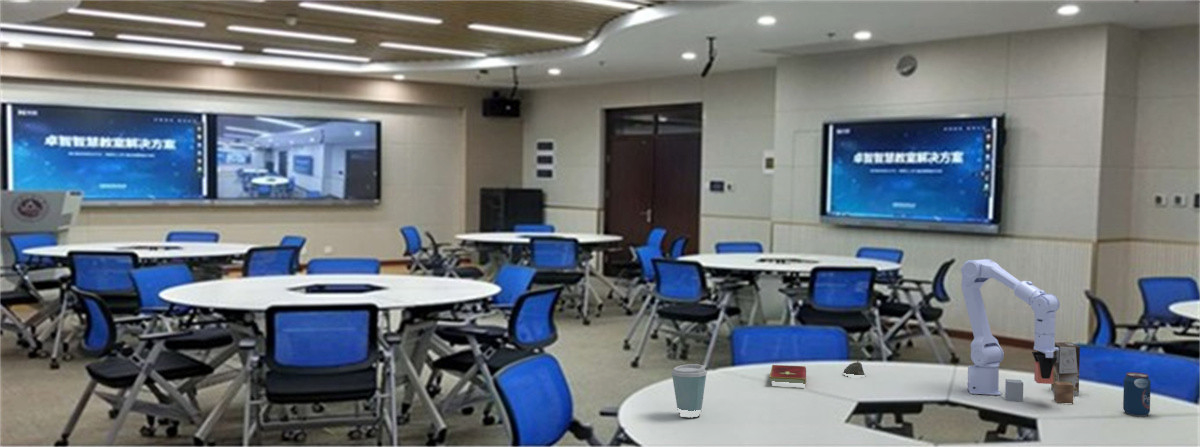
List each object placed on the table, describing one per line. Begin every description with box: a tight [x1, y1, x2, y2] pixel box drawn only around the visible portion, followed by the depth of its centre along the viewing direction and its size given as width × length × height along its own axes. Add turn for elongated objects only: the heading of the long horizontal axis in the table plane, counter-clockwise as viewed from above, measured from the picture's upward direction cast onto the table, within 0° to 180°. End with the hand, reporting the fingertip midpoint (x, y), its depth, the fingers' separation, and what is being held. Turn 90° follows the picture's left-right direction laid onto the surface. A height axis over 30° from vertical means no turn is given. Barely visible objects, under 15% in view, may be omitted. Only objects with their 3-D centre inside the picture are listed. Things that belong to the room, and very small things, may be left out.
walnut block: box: [1053, 381, 1074, 405], centre depth 288 cm, size 4×4×6 cm
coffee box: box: [1050, 341, 1081, 397], centre depth 301 cm, size 9×6×16 cm
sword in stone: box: [843, 345, 866, 376], centre depth 328 cm, size 10×8×12 cm
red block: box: [1033, 361, 1054, 385], centre depth 284 cm, size 4×4×6 cm
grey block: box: [1004, 378, 1024, 402], centre depth 292 cm, size 4×4×6 cm
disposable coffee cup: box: [671, 363, 708, 411], centre depth 273 cm, size 11×11×15 cm
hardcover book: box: [769, 364, 807, 385], centre depth 319 cm, size 12×21×4 cm, turn 167°
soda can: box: [1122, 371, 1151, 417], centre depth 273 cm, size 7×7×12 cm
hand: (1043, 376), depth 284 cm, fingers closed on red block, 4 cm apart
